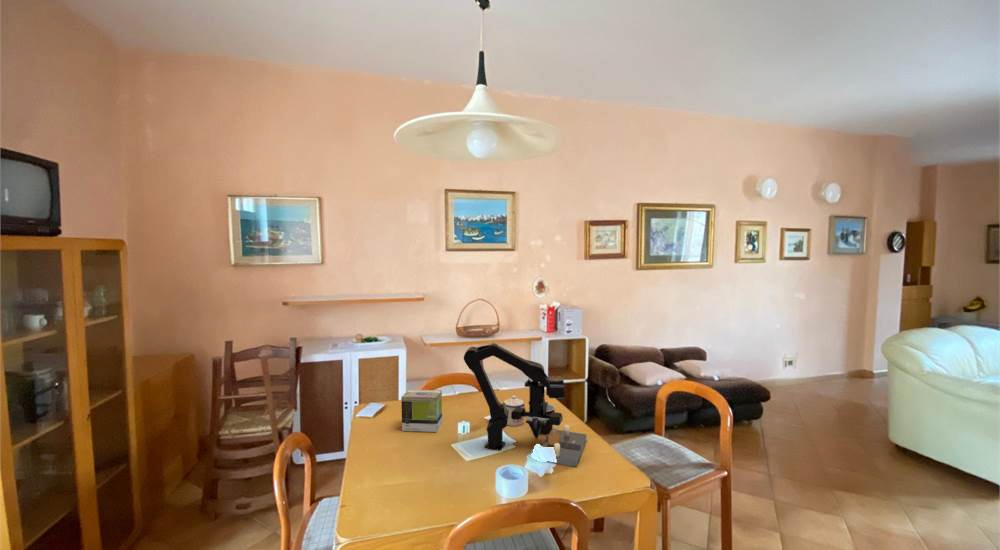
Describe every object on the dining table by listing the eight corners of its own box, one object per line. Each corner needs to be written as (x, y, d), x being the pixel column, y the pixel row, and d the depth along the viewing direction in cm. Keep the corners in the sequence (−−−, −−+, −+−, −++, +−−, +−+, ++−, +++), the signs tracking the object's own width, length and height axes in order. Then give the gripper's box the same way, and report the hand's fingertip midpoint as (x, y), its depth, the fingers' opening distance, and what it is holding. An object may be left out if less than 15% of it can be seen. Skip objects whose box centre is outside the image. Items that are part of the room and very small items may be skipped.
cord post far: (568, 437, 161) (568, 427, 161) (563, 436, 162) (563, 426, 162) (569, 435, 163) (569, 425, 163) (564, 434, 164) (564, 424, 163)
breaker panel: (576, 467, 143) (576, 459, 143) (537, 460, 148) (537, 452, 148) (586, 440, 164) (586, 434, 164) (551, 435, 169) (551, 428, 169)
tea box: (442, 423, 180) (442, 389, 180) (436, 433, 170) (436, 397, 170) (408, 421, 182) (408, 388, 181) (401, 431, 172) (400, 396, 171)
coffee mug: (553, 436, 167) (554, 412, 167) (532, 434, 169) (532, 410, 168) (555, 425, 179) (556, 402, 178) (535, 423, 180) (535, 400, 180)
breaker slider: (557, 446, 153) (557, 436, 153) (548, 444, 154) (548, 435, 154) (559, 441, 156) (560, 432, 156) (550, 440, 158) (550, 431, 158)
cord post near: (559, 457, 145) (559, 445, 145) (553, 456, 146) (553, 445, 146) (560, 454, 147) (560, 443, 147) (554, 453, 148) (555, 442, 148)
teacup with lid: (515, 428, 175) (515, 401, 174) (498, 422, 181) (498, 396, 180) (532, 420, 184) (532, 394, 183) (516, 414, 190) (516, 389, 189)
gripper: (565, 393, 161) (565, 433, 162) (519, 388, 168) (519, 426, 169) (559, 403, 151) (559, 445, 152) (510, 397, 157) (510, 437, 158)
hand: (536, 438), depth 158 cm, fingers closed
